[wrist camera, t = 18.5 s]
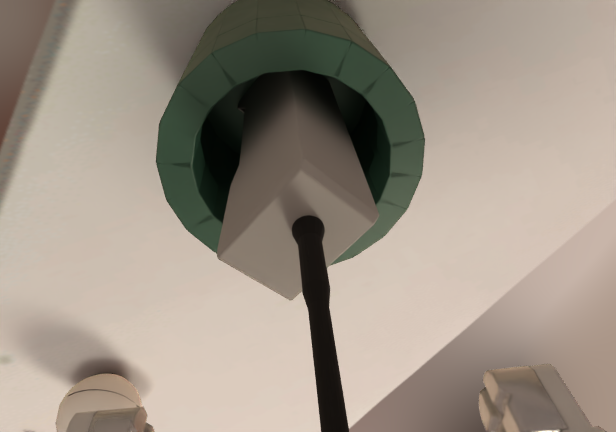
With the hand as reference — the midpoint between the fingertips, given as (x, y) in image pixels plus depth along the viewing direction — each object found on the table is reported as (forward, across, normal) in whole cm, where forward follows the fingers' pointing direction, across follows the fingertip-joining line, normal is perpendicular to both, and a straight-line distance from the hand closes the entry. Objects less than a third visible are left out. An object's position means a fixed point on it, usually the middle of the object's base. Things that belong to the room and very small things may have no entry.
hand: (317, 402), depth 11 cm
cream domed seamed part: (+24, +19, +27) cm, 41 cm away
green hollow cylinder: (+24, 0, 0) cm, 24 cm away
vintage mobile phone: (+24, 0, 0) cm, 24 cm away
